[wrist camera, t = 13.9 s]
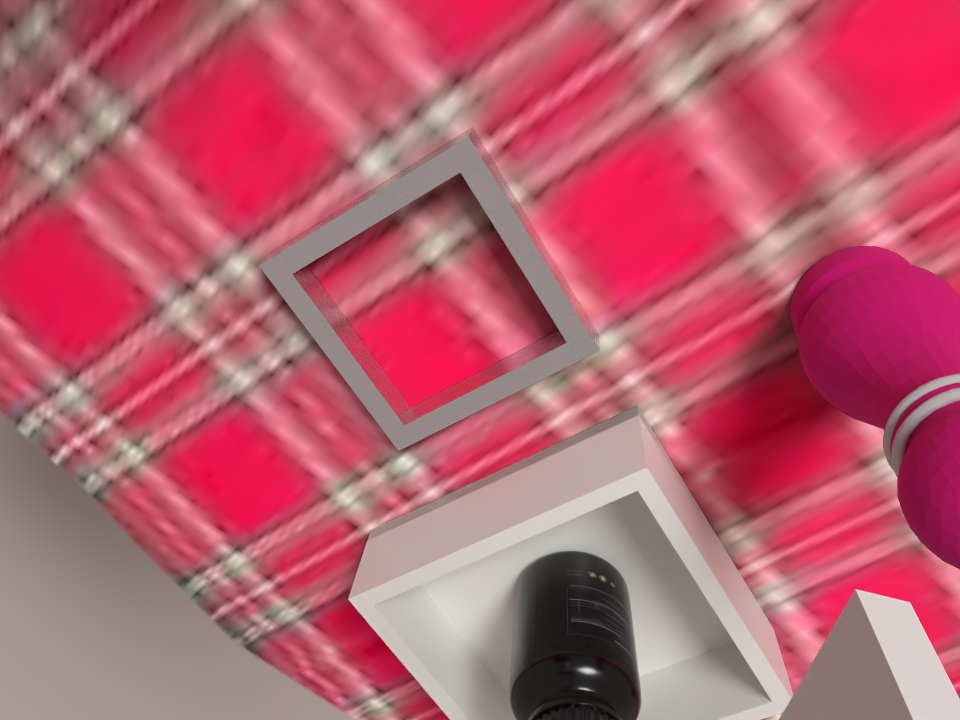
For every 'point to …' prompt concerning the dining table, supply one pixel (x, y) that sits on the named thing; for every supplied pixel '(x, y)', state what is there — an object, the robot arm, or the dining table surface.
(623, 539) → the bin
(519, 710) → the supplement bottle
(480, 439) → the dining table surface
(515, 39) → the dining table surface
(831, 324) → the pepper mill
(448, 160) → the socket collar
